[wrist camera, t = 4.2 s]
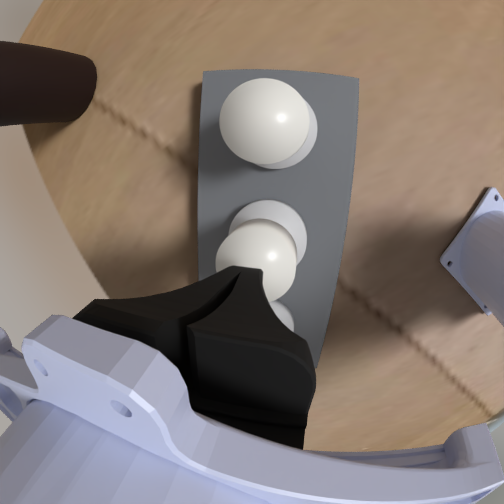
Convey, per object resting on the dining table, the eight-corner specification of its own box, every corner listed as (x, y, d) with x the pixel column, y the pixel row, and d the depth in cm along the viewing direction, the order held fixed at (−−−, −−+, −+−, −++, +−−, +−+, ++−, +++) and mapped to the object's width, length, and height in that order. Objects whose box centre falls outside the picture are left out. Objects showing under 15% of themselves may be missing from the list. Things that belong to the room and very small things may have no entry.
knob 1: (306, 165, 14) (306, 167, 12) (228, 160, 14) (217, 161, 12) (311, 90, 12) (311, 81, 10) (233, 87, 13) (221, 78, 11)
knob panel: (316, 353, 24) (316, 376, 21) (209, 337, 25) (198, 357, 23) (354, 84, 16) (361, 74, 13) (212, 77, 17) (197, 67, 15)
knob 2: (293, 289, 16) (290, 308, 14) (225, 281, 17) (215, 297, 15) (300, 222, 15) (299, 233, 13) (227, 214, 15) (215, 224, 13)
